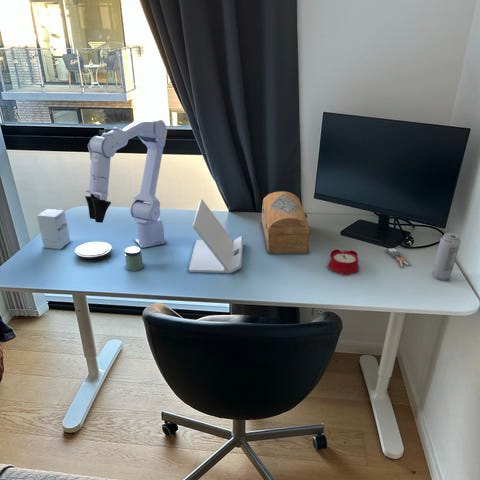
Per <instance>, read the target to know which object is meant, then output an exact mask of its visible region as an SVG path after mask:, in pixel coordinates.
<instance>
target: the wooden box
mask: <svg viewBox="0 0 480 480" xmlns="http://www.w3.org/2000/svg"><path fill="white" fill-rule="evenodd" d="M261 207H262V208H261V209H262V210H261V224H262V229H263V234H264V239H265V244H266V248H267V249H266V250H267V253H268V254H308V253H309V246H310V235H311V234H310V225H309V221H308V219H307V218H308V214H307V213H305V211H304V208H303V206H302V203H301V200H300V198H299V197H298V196H297V195H296V194H295V193H292V192H289V191H274V192H271V193H268V194H267V195H266V196H265V197H263V200H262V206H261Z"/></svg>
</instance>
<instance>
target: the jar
mask: <svg viewBox="0 0 480 480" xmlns="http://www.w3.org/2000/svg"><path fill="white" fill-rule="evenodd" d="M141 249H142V248H141V247H140V246H139V247H138V246H129V247H126V248H125V249H124V253H125V254H124V258H125V266H126V269H127V270H129V271H133V272H134V271H139V270H142V269H143V268H144V262H143V254H142V253H143V252H142V250H141Z"/></svg>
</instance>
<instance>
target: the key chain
mask: <svg viewBox="0 0 480 480" xmlns="http://www.w3.org/2000/svg"><path fill="white" fill-rule="evenodd" d="M385 251H386V252H387V254H389V255H390V256H391V257H392V258H396V261H399V264H400V266H401V267H402V268H403V264H405V265H407V266H410V263H408V262H407V261H406V259H404V258H402V257H401V254H400V252H399V251H398V250H397V249H396V248H395V247H394V248H393V247H390V248H386V249H385Z"/></svg>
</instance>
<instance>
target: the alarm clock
mask: <svg viewBox="0 0 480 480" xmlns="http://www.w3.org/2000/svg"><path fill="white" fill-rule="evenodd" d="M358 256H359V255H358V253H357V251H355V250H345V251H343V249H342V250H340V249H338V248H337V249H333V250H331V252H330V254H329V257H330V261H329V262H328V266H327V267H328V268H329V270H331V271H333V272H335V273H338V274H342V276H346V275H350V274H354V273H357V272H358V271H359V269H360V266H359V257H358Z"/></svg>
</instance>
